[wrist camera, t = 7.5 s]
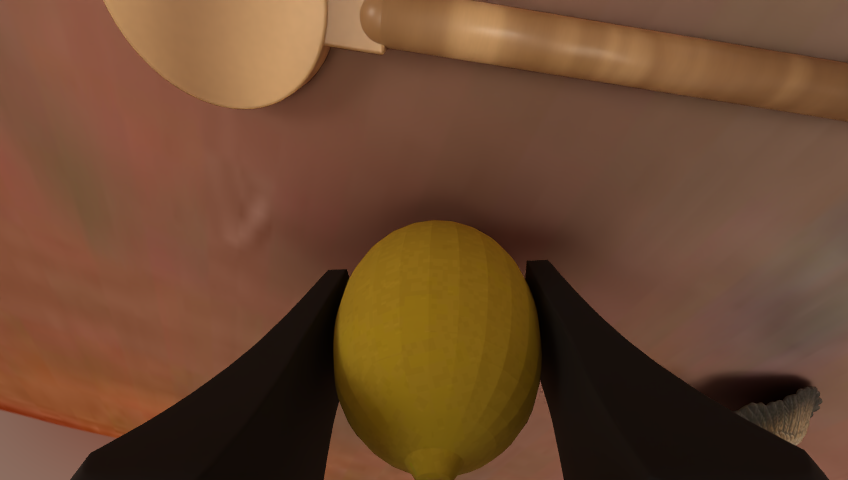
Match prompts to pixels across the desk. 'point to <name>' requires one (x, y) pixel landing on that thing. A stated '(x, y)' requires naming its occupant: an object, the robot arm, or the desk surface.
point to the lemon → (437, 350)
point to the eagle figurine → (785, 414)
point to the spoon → (455, 49)
